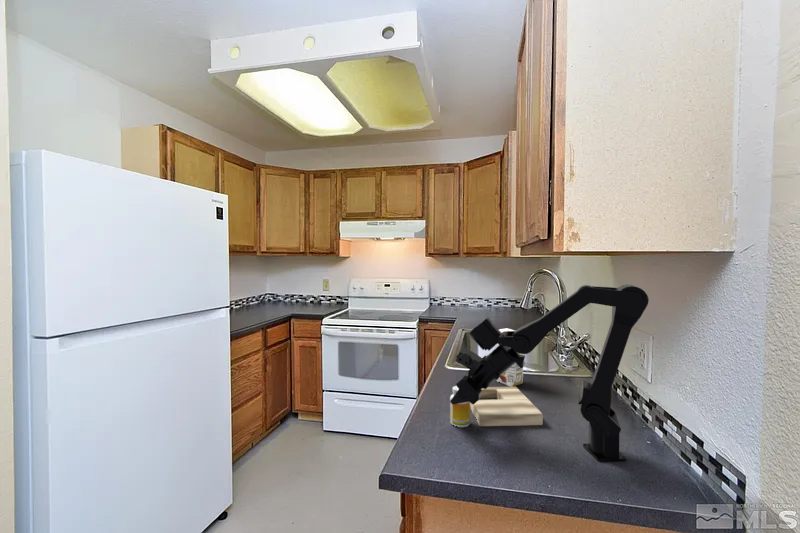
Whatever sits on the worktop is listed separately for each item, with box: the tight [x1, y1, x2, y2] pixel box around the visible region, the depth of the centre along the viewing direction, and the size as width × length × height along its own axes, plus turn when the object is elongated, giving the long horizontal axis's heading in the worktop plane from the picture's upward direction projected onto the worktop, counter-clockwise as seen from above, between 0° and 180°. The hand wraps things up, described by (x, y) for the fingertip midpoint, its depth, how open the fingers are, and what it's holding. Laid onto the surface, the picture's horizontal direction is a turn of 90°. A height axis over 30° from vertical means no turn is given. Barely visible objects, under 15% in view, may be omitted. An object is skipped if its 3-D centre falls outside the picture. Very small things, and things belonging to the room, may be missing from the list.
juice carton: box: [495, 327, 524, 387], centre depth 125 cm, size 8×9×19 cm
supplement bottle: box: [449, 385, 471, 428], centre depth 95 cm, size 5×5×10 cm
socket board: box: [470, 386, 544, 427], centre depth 103 cm, size 20×17×3 cm
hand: (455, 398), depth 95 cm, fingers open, 6 cm apart
